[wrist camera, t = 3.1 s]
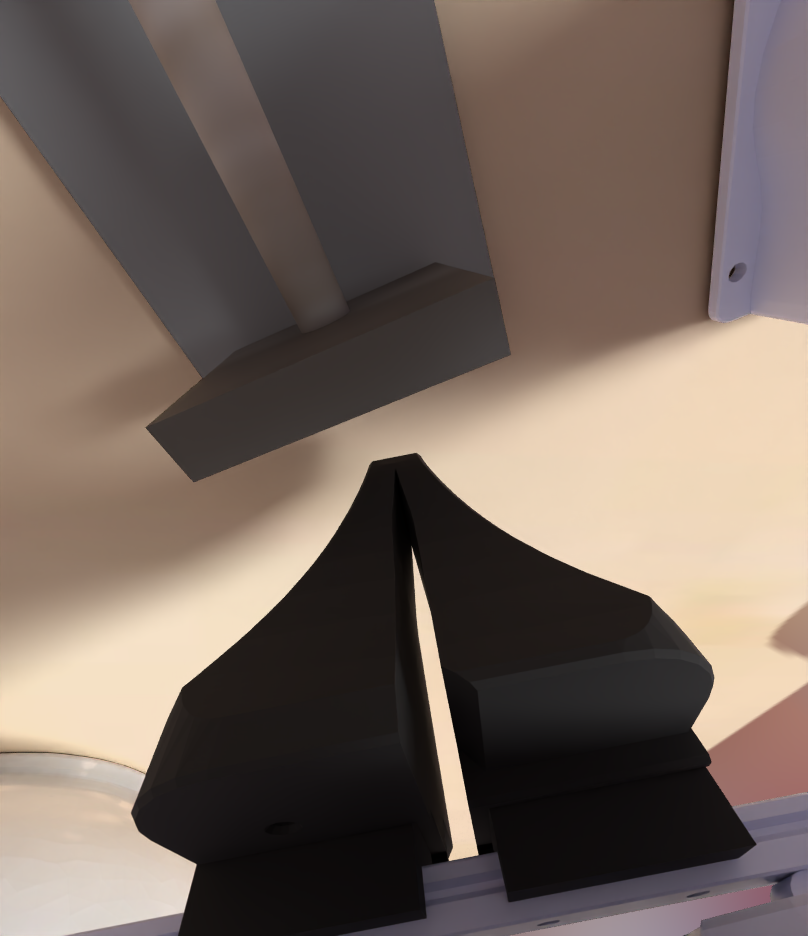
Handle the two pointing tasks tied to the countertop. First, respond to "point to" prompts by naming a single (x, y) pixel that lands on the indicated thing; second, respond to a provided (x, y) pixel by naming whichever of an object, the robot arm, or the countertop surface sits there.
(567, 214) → the countertop surface
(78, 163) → the flat gray panel
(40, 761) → the bowl
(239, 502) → the countertop surface
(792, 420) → the countertop surface
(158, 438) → the player rod
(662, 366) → the countertop surface
